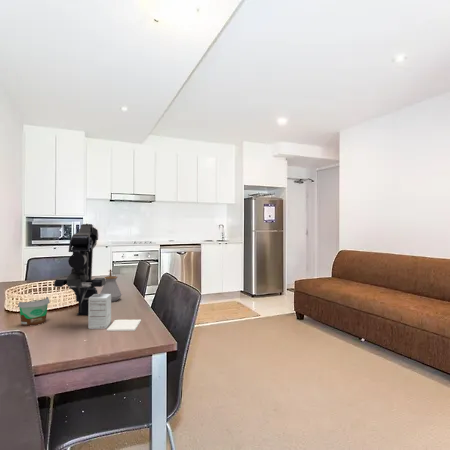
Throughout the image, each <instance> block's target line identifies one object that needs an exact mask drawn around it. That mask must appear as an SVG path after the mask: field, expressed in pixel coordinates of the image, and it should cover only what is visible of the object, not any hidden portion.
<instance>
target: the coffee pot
mask: <svg viewBox="0 0 450 450" xmlns="http://www.w3.org/2000/svg"><path fill="white" fill-rule="evenodd" d="M113 271H114V270H112V269H111V268H110V269H109V274H108V276H104V278H105V280H106V284H105V285H103V286H102V289H101V290H100V293H99V294H111V303H113V302H116V301H118V300H119V299H120V298H121V297H122V295H123V294H122V292H121V290H120V287H119V286H118V283H117V281H116V280H117V278H118V276H116V275H115V276H114V275H112V273H113Z"/></svg>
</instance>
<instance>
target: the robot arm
mask: <svg viewBox="0 0 450 450" xmlns="http://www.w3.org/2000/svg"><path fill="white" fill-rule="evenodd" d="M98 240H99V231H98V229H97V228H95V227H94V225H93V224H91V223H90V224H89V223H82V224H81V225H80V228H79V229H78V232H77V233H73V234H72V236H71V237H70V239H69V244H68V246H69V247H68V252H69V253H72V254H71V255H70V256H69V258H68V260H67V261H68V265H69V266H70V267H71V270H70V272H71V273H70V274H68V276H67V277H60V278H57V279H55V280H54V283H53V287H55V288H62V287H64V286H65V285H67V287H68V289H69V290H72V291H73V293H74V294H75V301H76V302H78V313H77V314H76V315H77V316H88V308H89V297H91V296H92V295H93V294H99V293H98V290H97V288H101V287H102V288H103V286H104V285H105V284H106V280H105V277H94V278H93V277H92V275H93V259H94V258H93V256H94V255H93V254H94V248H95V247H96V245H97V243H98ZM92 278H93V279H92Z"/></svg>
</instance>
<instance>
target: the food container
mask: <svg viewBox="0 0 450 450" xmlns="http://www.w3.org/2000/svg"><path fill="white" fill-rule="evenodd" d="M49 304H50V298H49V297H48V296H46V298H42V299H33V300H31V301H18V305H17V308H19V316H20V317H19V318H20V326H22V327H31V326H30V325H35V326H39V325H38V324H40V325H43V324H45V323H46V322H47V313H48V305H49ZM44 322H45V323H44ZM42 323H43V324H42Z"/></svg>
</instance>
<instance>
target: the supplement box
mask: <svg viewBox="0 0 450 450" xmlns="http://www.w3.org/2000/svg"><path fill="white" fill-rule="evenodd" d="M87 316H88V318H87V319H88V330H103V329H106V330H107V329H108V327H109V326H110V325H111V324H112V302H111V294H100V293H98V294H93V295H92V296H91V297H89V308H88V315H87Z"/></svg>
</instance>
